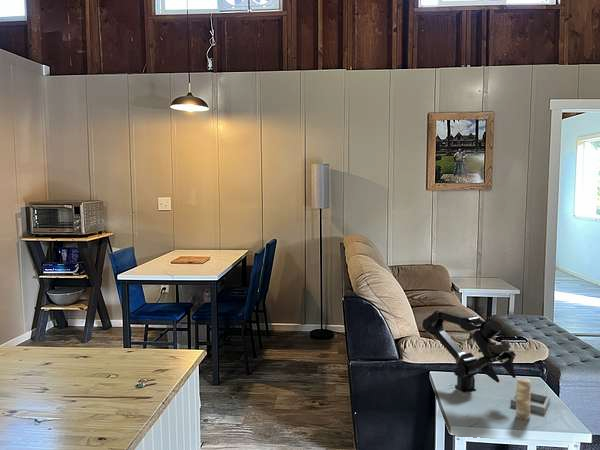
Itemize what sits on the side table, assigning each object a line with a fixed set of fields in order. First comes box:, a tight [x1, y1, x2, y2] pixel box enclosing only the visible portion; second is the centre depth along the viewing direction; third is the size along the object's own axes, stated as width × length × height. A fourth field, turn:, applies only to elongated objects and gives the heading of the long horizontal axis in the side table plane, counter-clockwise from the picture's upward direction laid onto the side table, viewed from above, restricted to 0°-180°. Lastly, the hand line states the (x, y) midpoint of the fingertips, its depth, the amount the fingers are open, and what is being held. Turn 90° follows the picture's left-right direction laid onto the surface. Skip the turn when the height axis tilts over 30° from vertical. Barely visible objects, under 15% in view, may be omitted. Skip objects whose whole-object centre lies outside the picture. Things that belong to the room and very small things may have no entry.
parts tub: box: [510, 391, 551, 415], centre depth 181 cm, size 12×12×2 cm
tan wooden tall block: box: [515, 377, 532, 421], centre depth 170 cm, size 5×5×14 cm
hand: (506, 379), depth 177 cm, fingers open, 9 cm apart
